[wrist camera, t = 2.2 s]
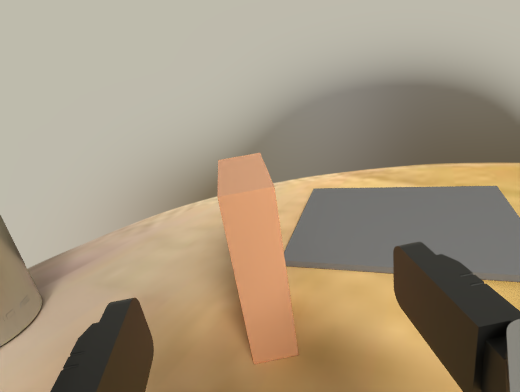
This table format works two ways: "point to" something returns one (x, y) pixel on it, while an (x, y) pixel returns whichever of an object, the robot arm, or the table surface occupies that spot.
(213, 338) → the table surface
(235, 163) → the card box
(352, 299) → the table surface
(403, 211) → the mat
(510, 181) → the table surface
